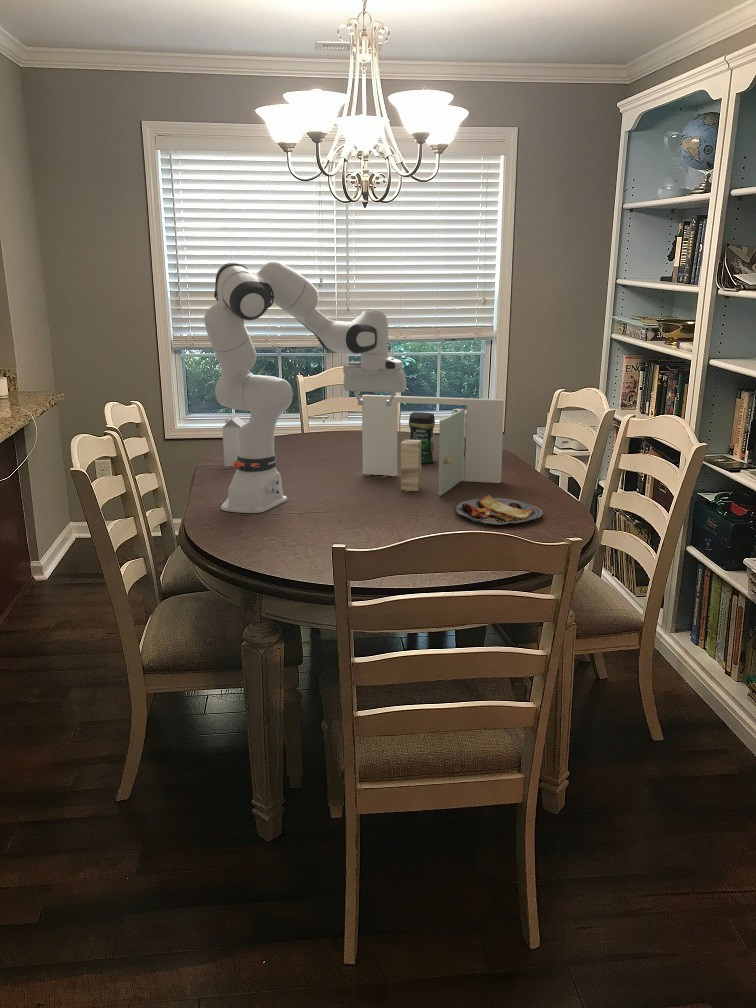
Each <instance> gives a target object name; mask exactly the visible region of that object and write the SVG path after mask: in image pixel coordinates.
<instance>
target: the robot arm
mask: <svg viewBox="0 0 756 1008" xmlns="http://www.w3.org/2000/svg"><path fill="white" fill-rule="evenodd" d="M214 287H215V288H214V294H213V295H214V296H213V297H214V298H215V300H216V301H217V303H215V304H214V305H212V306H211V307H209V308H207V310H206V311H205V314H204V317H203V322H204V327H205V330H206V333H207V336H208V339H209V341H210V344H211V347H212V349H213V352H214V354H215V357H216V358H217V360H218V363H219V365H220V366H219V367H220V368H221V369H220V370H221V376H220V377H219V379H217V382H216V384H215V387H214V396H215V399H216V401H217V403H218V404H220V406H223V407H226V408H228V409H231V410H234V411H235V410H236V411H237V410H238V411H246V412H247V411H248V412H250V417H249V420H248V422H247V423H246V424H245V425H243V426H242V427H241V428H240V429H239V431H238V434H237V435H238V453H239V455H238V456H237V461H234V463H233V465H234V468H236V470H235V473H234V475H233V477H232V480H231V482H230V485H228V486H229V487H228V491H227V498H226V499H225V501H224V502H223V503H222V504H221V506H220V510H222V511H225V512H229V513H230V512H232V513H240V514H245V513H246V514H256V513H257V514H259V513H265V512H266V511H268V510H271V509H273V508H274V507H277V506H279V505H281V504H283V503H285V502H287V501H288V496H286V495H284V493H283V491H284V490H283V484H282V476H281V473H280V472H279V471H278V469H277V468H276V467H277V455H276V453H275V429H276V425H277V422H278V421H279V418H280V416H281V415H282V414H283V413H284V412H285V411H286V410H287V409H289V407H290V406H291V404H292V403H293V397H294V394H293V388H292V385H291V384H290V382H288V381H287V380H286V379H283V378H282V377H281V378H280V377H277V376H273V375H261V374H260V375H259V374H253V372H252V371H251V369H252V368H253V367H254V365H256V361H257V358H258V356H257V355H258V354H257V351H256V348H255V346H254V343H253V340H252V339H251V337H250V334H249V332H248V329H247V327H246V325H245V321H254V320H258V319H259V318H260V317H262V316H263V315H264V314H265V313H266V312H267V310H268V309H269V308H271V307H272V306H273V303H274V304H275V305H276V306H277V307H279V308H280V309H281V310H282V311H284V312H285V313H287V314H288V315H290V316H292V317H293V318H294V319H296V320H297V321H298V322H299V323H300V324H301V325H303V326H304V327H305V328H306V329H307V330H308V331H310V332H311V333H312V334H313V335H314V336H315V337H316V338H317V340H318V342H319V344H320V345H321V347H322V348H323V349H324V350H325V351H327V352H329V353H336V354H337V353H342V354H349V355H359V354H360V361H347V362H346V363H344V365H343V367H342V370H343V371H342V372H343V374H344V375H343V387H342V388H343V389H344V391H346V392H353V393H354V396H355V399H356V400H357V406H362V405H363V404H364V403H363V399H362V397H361V396H360V394H361V392H367V393H369V392H371V393H389V396H391V398H390V399H389V400H387V401H386V403H387V404H386V406H392V400H393V398H394V396H396V393H398V394H401V393H404V392H405V391H406V390H407V377H406V373H405V369H403V366H404V365H403V363H404V362H403V360H400V359H396V357H395V358H394V357H392V356H389V349H388V342H389V323H388V322H389V321H388V318H387V315H386V314H385V313H384V312H383V311H379V310H373V309H364V310H363V311H362V313H360V315H359V316H357V317H356V318H355V319H352V320H350V321H340V320H335V319H330V318H327V317H326V316H325V315H324V314H323V313H322V312H320V311H319V310H318V309H317V306H318V303H319V291H318V289H317V288H316V287H315V285H314V284H313V283H312V282H311V281H310V280H308V279H307V277H304V276H303V274H301V273H299V272H298V271H296V270H295V269H293V268H292V267H290V266H288V265H286V264H285V263H282V262H280V261H278V260H271V261H268V262H266V263H265V264H264V265H263V266H262V267H261V268H260V270H259V271H258V272H255V273H252V272H251V271H250V270H249V269H248V268H247V267H246V266H245V265H243V264H241V263H237V262H228V263H225V264H223V265H222V266H220V268H218V270H217V273H216V275H215V286H214Z"/></svg>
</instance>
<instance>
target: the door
mask: <svg viewBox="0 0 756 1008" xmlns="http://www.w3.org/2000/svg"><path fill="white" fill-rule="evenodd" d="M461 409H462V410H460V411H458V412H456V413H454V414H450V415H447V416H446V417H443V418H441V419H439V430H438V431H439V437H438V438H439V439H438V440H439V441H438V442H439V444H438V445H439V446H438V448H439V449H438V493H437V494H438V496H442V495H444V494H445V493H446V492H448V491H449V490H451V489H452V488H454V487H455V486H456V485H458V484H459V483H460V482H462V481H463V480H464V471H465V456H464V455H465V454H464V431H465V410H466V409H465V408H461Z"/></svg>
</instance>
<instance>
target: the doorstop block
mask: <svg viewBox="0 0 756 1008" xmlns="http://www.w3.org/2000/svg"><path fill="white" fill-rule="evenodd" d="M421 481H422V463H421V440H410V439H404V440H402V441H401V442H400V491H401V490H409V491H418V490H419V491H420V489H421V488H422V487H421V486H422V485H421V484H422V482H421ZM420 487H421V488H420ZM409 491H408V492H409ZM419 491H418V492H419Z"/></svg>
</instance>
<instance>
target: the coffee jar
mask: <svg viewBox="0 0 756 1008" xmlns="http://www.w3.org/2000/svg"><path fill="white" fill-rule="evenodd" d="M435 420H436V419H435V413H433V412H424V411H420V412H419V411H417V412H416V411H413V412H411V413H410V414H409V419H408V426H409V430H410V432H409V433H410V436H409V440H421V464H429V463H433V462H434V460H435V449H434V428H435V425H436V421H435Z"/></svg>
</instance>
